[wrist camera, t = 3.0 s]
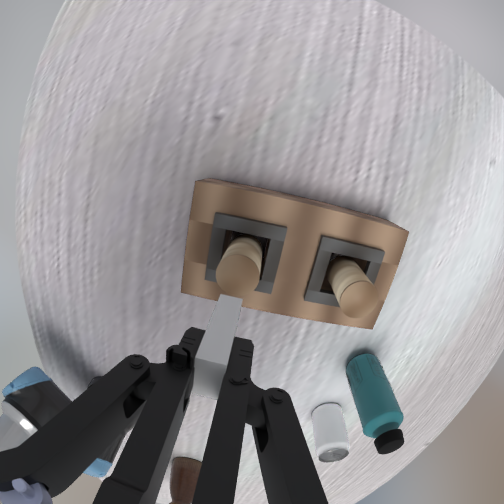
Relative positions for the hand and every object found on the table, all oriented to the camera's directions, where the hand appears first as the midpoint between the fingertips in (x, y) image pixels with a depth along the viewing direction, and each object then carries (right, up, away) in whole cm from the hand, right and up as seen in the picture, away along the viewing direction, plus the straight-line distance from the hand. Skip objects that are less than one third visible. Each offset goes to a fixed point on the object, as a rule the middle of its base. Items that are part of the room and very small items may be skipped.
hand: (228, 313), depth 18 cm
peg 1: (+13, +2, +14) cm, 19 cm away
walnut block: (+7, +5, +20) cm, 22 cm away
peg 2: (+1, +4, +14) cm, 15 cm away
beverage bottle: (+21, -15, +26) cm, 37 cm away
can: (+17, -29, +30) cm, 46 cm away
